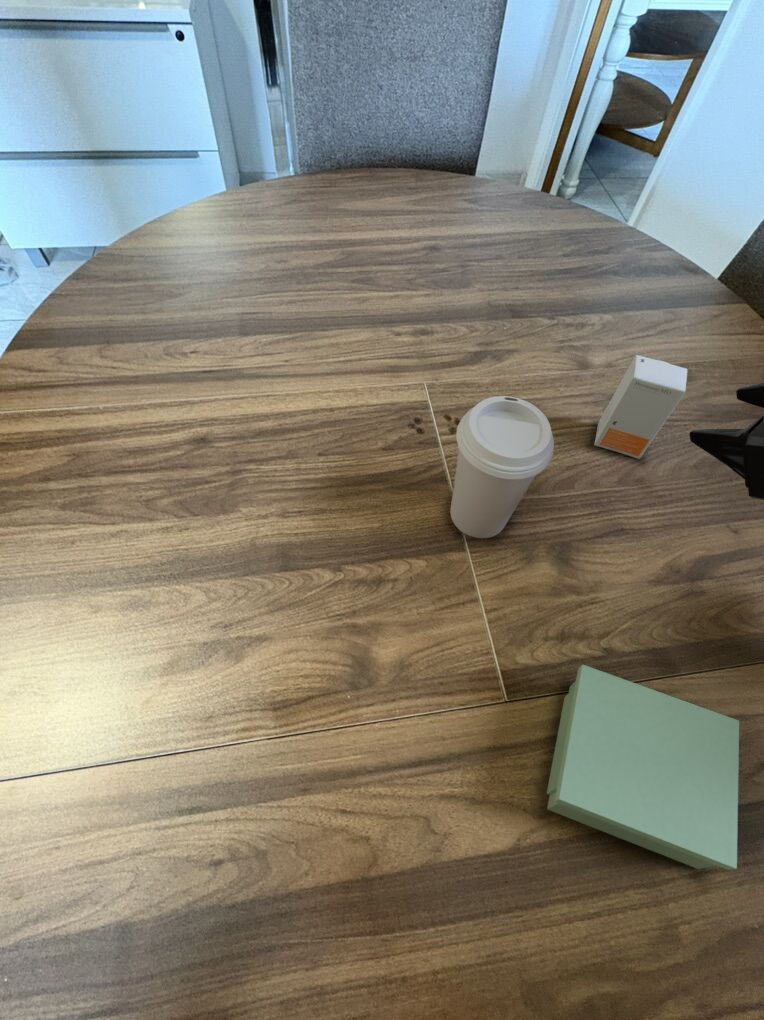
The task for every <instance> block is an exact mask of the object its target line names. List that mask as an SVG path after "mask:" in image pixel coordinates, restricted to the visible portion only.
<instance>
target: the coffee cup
mask: <svg viewBox="0 0 764 1020" xmlns="http://www.w3.org/2000/svg"><path fill="white" fill-rule="evenodd" d="M455 436H456V437H455V438H456V443H457V446H458V451H457V460H456V469H455V475H454V482H453V489H452V496H451V504H450V512H449V513H450V518H451V521H452V523H453V524H454V526H455V527H456V528H457V529H458V530H459V531H460V532H462V533H463V534H464V535H467V536H468V537H471V538H476V539H489V538H492V537H495V536H498V534H500V533H501V532H502V531H503V529H504V528H505V527H506V525H507V524H508V521H509V520H510V518H511V517H512V515H513V513H514V512H515V510H516V509H517V507H518V506H519V504H520V502H521V501H522V499H523V497H524V495H525V494H526V492H527V491H528V489H529V487H530V486H531V485H532V483H533V482H534V480H535V478H536V477H537V475H538V474H540V473H541V472H543V471H544V470H545V469H546V468H547V467H548V466H549V465H550V464H551V461H552V459H553V456H554V450H555V441H554V435H553V432H552V427H551V423H550V421H549V419H548V418H547V416H546V415H545V414H544V413H543V411H541V409H539V408H538V407H537V406H536V405H534V404H533V403H531V402H528V401H527V400H524V399H522V398H518V397H515V396H510V395H509V396H508V395H498V396H492V397H487V398H485V399H483V400H481V401H479V402H478V403H477V404H476V405H474V406H473V407H472V408H470V409H469V410H468V411H467V412H466V413H465V414H464V415H463V417H462V418H461V419H460V421H459V423H458V424H457V428H456V434H455Z"/></svg>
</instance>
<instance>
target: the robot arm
mask: <svg viewBox="0 0 764 1020" xmlns="http://www.w3.org/2000/svg"><path fill="white" fill-rule="evenodd" d="M735 392H736V393H735V394H736V395H735V396H736V399H737V400H738V401H740V402H743V403H747V404H749V405H752V406H755V407H757V408H758V407H759V408H762V409H764V382H762V383H757V384H754V385H753V384H752V385H749V386H744V387H740V388H738V389H736V391H735ZM689 441H690V442H691V443H692V444H693V445H695V446H696V447H698V448H700V449H701V450H703V451H704V452H706V453H708V454H709V455H710V456H712V457H714V458H715V459H717V460H718V461H720V462H721V463H722V464H724V465H725V466H727V467H728V468H729V469H731V470H732V471H733V472H735V473H736V474H737V475H738V476H739V477H741V478H742V479H743V480H744V486H745V488H747V491H748V492H747V493H748V497H749V498H751V499H754V500H759V501H764V415H762V416H760V417H758V418H757V419H756V420H754V421H753V422H752V423H751V424H749V426H747V427H745V428H704V429H693V430H691V431H689Z"/></svg>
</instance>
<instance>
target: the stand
mask: <svg viewBox="0 0 764 1020" xmlns="http://www.w3.org/2000/svg"><path fill="white" fill-rule="evenodd" d="M553 752H554V753H553V757H552V762H551V768H550V774H549V777H548V784H547V788H546V794H547V795H549V797H548V802H547V809H546V810H547V811H551V812H553V813H554V814H555V813H556V814H558V815H560V816H563V817H565V818H568V819H570V820H573V821H575V822H579V823H580V824H583V825H586V826H588V827H590V828H593V829H596V830H597V831H600V832H603V833H607V835H611V836H613V837H615V838H617V839H621V840H623V841H625V842H629V843H631V844H634V845H636V846H639V847H642V848H643V849H646V850H648V851H651V852H654V853H656V854H659V855H662V856H664V857H667V858H669V859H671V860H674V861H676V862H678V863H682V864H684V865H686V866H689V867H692V868H694V869H696V870H701V869H706V868H713V867H719V868H722V869H724V870H726V871H733V870H737V869H738V827H739V826H738V823H739V821H738V819H739V817H738V816H739V767H740V764H739V762H740V761H739V759H740V720H739V719H736V718H733V717H730V716H727V715H724V714H721V713H720V712H717V711H713V710H711V709H708V708H705V707H703V706H699V705H697V704H695V703H691V702H688V701H685V700H683V699H680V698H677V697H675V696H672V695H670V694H669V695H668V694H666V693H663V692H660V691H658V690H656V689H652V688H650V687H647V686H644V685H641V684H639V683H636V682H633V681H630V680H627V679H624V678H623V677H622V678H621V677H620V676H616V675H613V674H611V673H609V672H605V671H602V670H600V669H597V668H594V667H591V666H588V665H586V664H581V666H579V667H578V668H577V674H576V679H575V681H574V682H573V683H572V684H571V685H570V686H569V690H568V693H567V694H566V695H565V696H564V698H563V704H562V709H561V714H560V720H559V725H558V729H557V735H556V742H555V747H554V751H553Z"/></svg>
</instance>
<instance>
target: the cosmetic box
mask: <svg viewBox="0 0 764 1020" xmlns="http://www.w3.org/2000/svg"><path fill="white" fill-rule="evenodd" d="M687 380H688V369H687V368H686V367H682V366H679V365H675V364H671V363H669V362H667V361H664V360H659V359H654V358H650V357H647V356H642V355H640V354H635V355H634V357H633V359H632V361H631V362H630V365H629V367H628V368H627V370H626V371H625V373H624V376H623V377H622V379H621V381H620V383H619V385H618V386H617V388H616V390H615V392H614V394H613V396H612V397H611V399H610V400H609V403H608V405H606V408H605V410H604V412H603V413H602V415H601V417H600V419H599V420H598V423H597V429H596V435H595V440H594V444H593V445H594V446H595V447H599V448H603V449H605V450H609V451H612V452H616V453H619V454H622V455H624V456H625V455H626V456H627V457H628V456H629V457H632V458H635V459H638V460H640V459H641V458H642V457H643V455H644V454H645V452H646V450H647V449H648V448H649V446H650V445H651V443H652V442H653V440H654V439H655V438H656V436H657V435H658V434H659V432H660V430H661V429H662V427H663V426H664V424H665V423H666V422H667V420H668V419H669V417H670V416H671V414H672V413H673V412H674V410H675V408H676V407H677V406H678V404H679V403H680V401H681V399H682V398H683V397H684V395H685V394H686V390H687Z"/></svg>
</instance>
